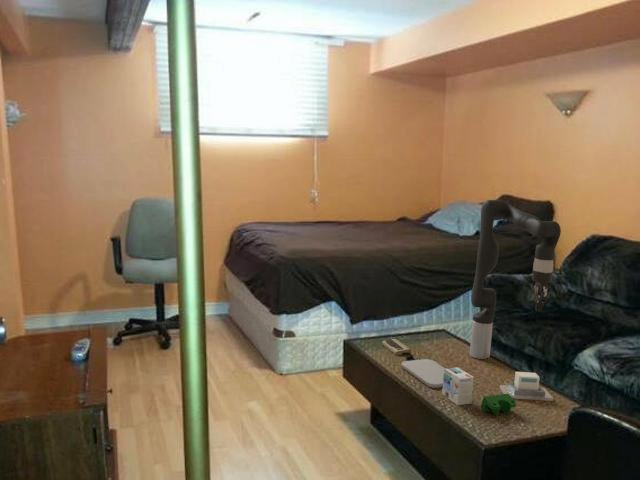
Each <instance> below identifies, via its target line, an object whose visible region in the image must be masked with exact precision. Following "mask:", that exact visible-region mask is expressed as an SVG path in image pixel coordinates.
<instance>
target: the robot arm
mask: <svg viewBox="0 0 640 480" xmlns="http://www.w3.org/2000/svg"><path fill="white" fill-rule="evenodd" d="M501 220H506V221H511V222H512V223H513V224H514V225H515V226H516V227H517V228H519V229H521V230H523V231H525V232H528V233H530V234H531V235H532V236H533V237H535V238H537V239H543V241H542V242H541V243H539V244H536V247H535V254H534V260H533V267H532V276H531V279H532V281H533V282H535V284H534V285H533V286H532V292H533V299H534V301H535V308H534V309H535V311H536V312H540V313H541V312H542V311H543V304H544V303H546V301H547V300H548V297H549V294H550V292H548V284H549V283H552V281H553V271H554V257H555V249H556V247H557V245H558V242H559V240H560V237H561V232H562V230H561V225H560V224H559V223H558V222H557V221H554V220H545V221H544V220H541V219H540V218H539V217H538V216H536V215H534V214H531V213H528V212H525V211H522V210H520V209H518V208H516V207H515V206H513V205H511V204H510V203H509V202H508V201H505V200H502V199H488V200H485V201H484V202H483V203H482V206H481V209H480V231H479V242H478V248H477V256H476V266H475V268H476V269H475V273H474V274H475V275H474V279H473V285H472V290H471V295H470V296H471V297H470V302H471V305H472V307H475V308H483V310H481V311H478V312H475V313H474V314H473V315H472V325H471V335H470V336H471V337H470V345H469V346H470V347H469V356H470V357H472V358H474V359H479V360H488V359H490V358H491V357H490V356H491V348H492V347H491V345H492V336H493V335H492V334H493V324H494V317H495V312H496V311H495V310H496V306H497V305H496V304H497V292H496V289H494V288H491V287H483V284H484V282H485V280H486V278H487V277H488V276H489V275H490V274H491V272H492V271H493V270H494V269H495V268H496V266H497V265H498V261H499V260H498V259H499V253H500V247H499V244H498V242H497V239H496V238H495V235H494V221H501ZM487 358H488V359H487Z"/></svg>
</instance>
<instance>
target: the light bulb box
mask: <svg viewBox="0 0 640 480" xmlns="http://www.w3.org/2000/svg"><path fill="white" fill-rule="evenodd" d="M474 378H475V376H473V375H471V374H470V373H468V372H466V371H465V370H463V369H462V368H460V367H458V366H457V367H449V368H445V369H444V378H443V387H442V389H441V391H442V392H441V395H443V396H444V397H445V398H446V399H448V400H449V401H451V402H452V403H454V404H455V405H456V406H461V405H463V406H464V405H468V404H472V399H473V398H472V397H473V391H474V390H473V388H474Z"/></svg>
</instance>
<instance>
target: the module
mask: <svg viewBox="0 0 640 480" xmlns="http://www.w3.org/2000/svg"><path fill="white" fill-rule="evenodd" d="M513 382H514V386H515V387H516V389H522V390H537V391H538V389H539V385H540V376H539V375H538V374H537V373H536V372H530V371H528V372H526V371H515V375H514V381H513Z"/></svg>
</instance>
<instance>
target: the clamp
mask: <svg viewBox="0 0 640 480" xmlns="http://www.w3.org/2000/svg"><path fill="white" fill-rule="evenodd" d="M517 403H518V402H517V401H516V399H514V398H512V397H511V396H510V395H509V394H504V393H503V394H495V395H487V396H483V398H482V400H481V404H480V408H481V409H482V411H483V412H484V413H490V412H492V413H493V415H494V416H495V417H498V416H499V413H500V411H501V412H504V413H506V414H507V416H508V415H510V413H511V409H512V408H516V407H517Z"/></svg>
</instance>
